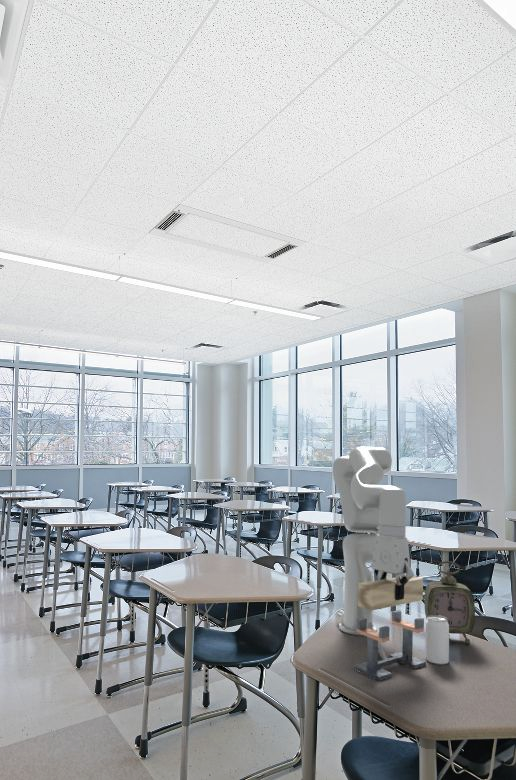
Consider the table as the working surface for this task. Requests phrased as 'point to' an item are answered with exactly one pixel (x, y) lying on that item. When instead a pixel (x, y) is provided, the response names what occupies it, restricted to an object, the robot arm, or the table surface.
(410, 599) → the rail
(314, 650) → the table surface
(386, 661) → the grey support stand
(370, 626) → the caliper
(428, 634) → the can
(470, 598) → the tabletop clock
